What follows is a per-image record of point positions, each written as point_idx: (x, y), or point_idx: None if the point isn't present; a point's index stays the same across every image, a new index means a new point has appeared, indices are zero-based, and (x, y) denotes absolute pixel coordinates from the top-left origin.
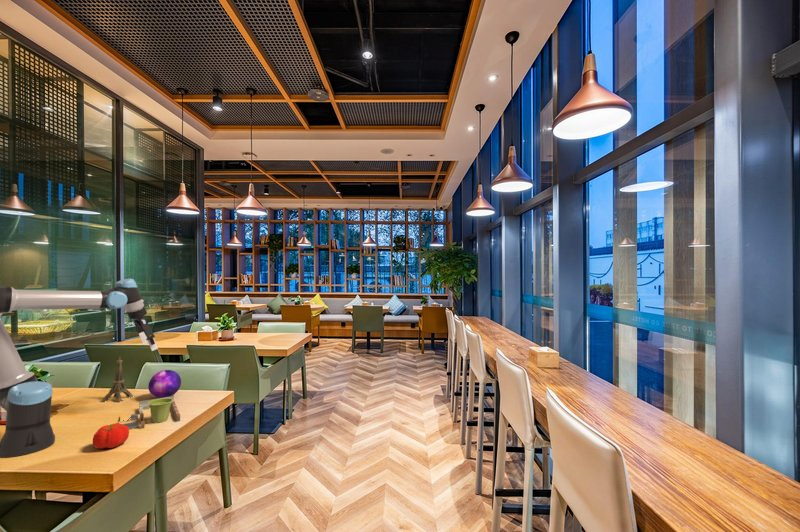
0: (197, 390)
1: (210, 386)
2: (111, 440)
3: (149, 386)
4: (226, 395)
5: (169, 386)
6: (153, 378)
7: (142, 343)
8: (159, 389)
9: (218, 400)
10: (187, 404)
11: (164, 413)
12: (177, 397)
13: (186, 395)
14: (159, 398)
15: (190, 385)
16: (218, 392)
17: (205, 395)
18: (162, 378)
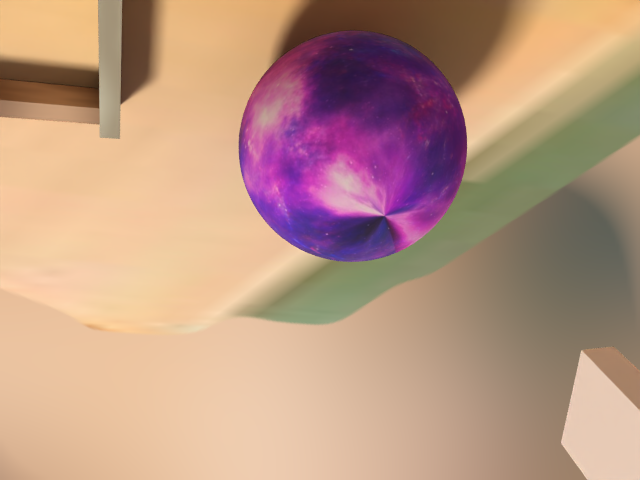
0: None
1: (346, 293)
2: None
3: (355, 47)
4: (105, 326)
5: (240, 161)
6: (364, 109)
7: (629, 365)
8: (259, 93)
9: (22, 293)
10: (41, 167)
11: None
12: None
13: None
14: (114, 49)
15: (454, 234)
16: (198, 307)
17: (186, 261)
18: (291, 164)
